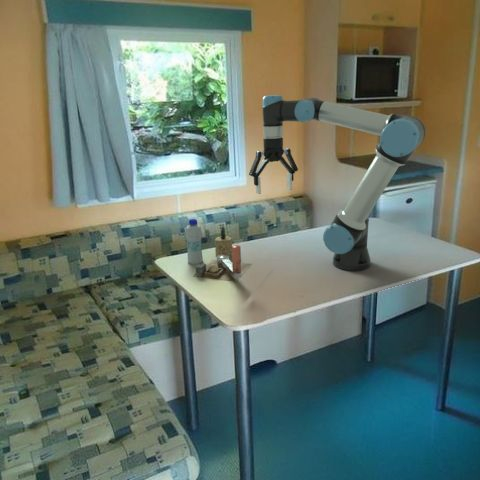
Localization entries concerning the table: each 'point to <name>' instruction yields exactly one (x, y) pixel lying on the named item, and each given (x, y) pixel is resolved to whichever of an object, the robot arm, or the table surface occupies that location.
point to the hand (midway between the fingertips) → (274, 191)
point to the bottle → (194, 242)
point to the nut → (213, 268)
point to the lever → (233, 266)
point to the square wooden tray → (222, 274)
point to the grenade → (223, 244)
